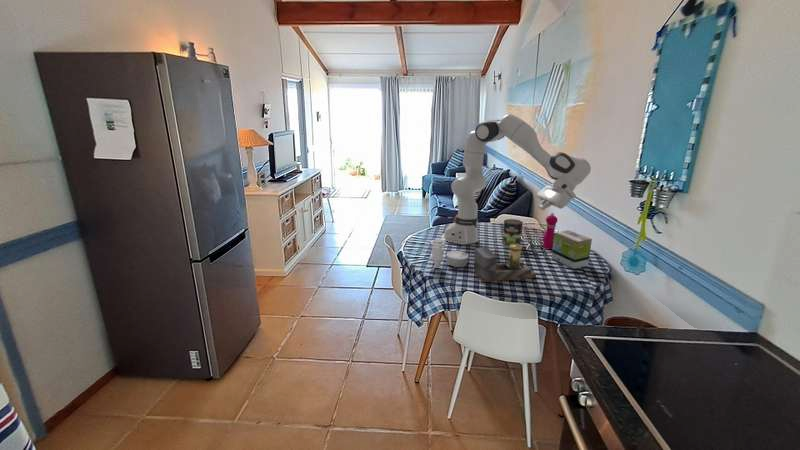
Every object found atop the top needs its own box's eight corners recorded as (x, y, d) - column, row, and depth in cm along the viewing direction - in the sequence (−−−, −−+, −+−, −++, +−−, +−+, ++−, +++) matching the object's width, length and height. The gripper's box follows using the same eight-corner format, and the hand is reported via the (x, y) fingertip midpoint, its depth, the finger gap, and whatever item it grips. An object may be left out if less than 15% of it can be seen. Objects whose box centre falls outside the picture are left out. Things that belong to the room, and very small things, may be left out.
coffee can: (519, 249, 208) (522, 225, 204) (500, 246, 212) (502, 223, 208) (521, 243, 217) (523, 220, 213) (503, 241, 221) (505, 218, 217)
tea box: (550, 258, 195) (553, 232, 190) (564, 255, 199) (568, 229, 194) (573, 269, 182) (577, 241, 177) (588, 266, 185) (592, 238, 181)
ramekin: (471, 268, 185) (471, 258, 183) (449, 269, 183) (449, 259, 181) (464, 259, 195) (464, 250, 194) (443, 260, 193) (443, 251, 192)
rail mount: (482, 282, 169) (484, 258, 165) (473, 271, 180) (475, 248, 176) (536, 278, 172) (539, 254, 169) (524, 268, 184) (526, 245, 180)
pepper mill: (556, 249, 207) (560, 214, 201) (542, 248, 209) (546, 214, 203) (554, 245, 214) (558, 211, 208) (540, 244, 215) (544, 210, 209)
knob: (510, 273, 173) (512, 248, 169) (504, 267, 179) (506, 243, 175) (522, 272, 174) (524, 247, 170) (516, 267, 179) (518, 243, 176)
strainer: (445, 270, 182) (446, 241, 177) (431, 271, 181) (432, 242, 177) (443, 264, 188) (443, 236, 184) (429, 265, 188) (429, 237, 183)
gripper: (546, 179, 186) (526, 199, 187) (570, 187, 167) (547, 209, 168) (553, 188, 188) (533, 207, 189) (578, 197, 169) (555, 218, 170)
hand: (540, 208), depth 179 cm, fingers closed
